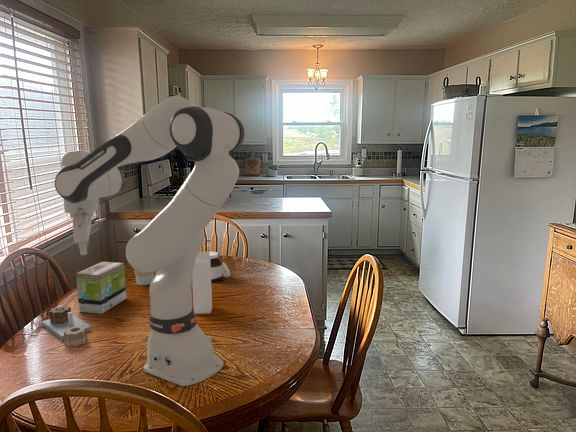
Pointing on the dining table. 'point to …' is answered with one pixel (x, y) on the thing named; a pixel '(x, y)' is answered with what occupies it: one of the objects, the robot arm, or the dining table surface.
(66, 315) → the walnut gear
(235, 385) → the dining table surface
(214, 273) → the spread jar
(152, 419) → the dining table surface
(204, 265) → the milk
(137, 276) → the coffee cup
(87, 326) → the gear board
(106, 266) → the tea box
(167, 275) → the robot arm
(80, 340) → the birch gear
